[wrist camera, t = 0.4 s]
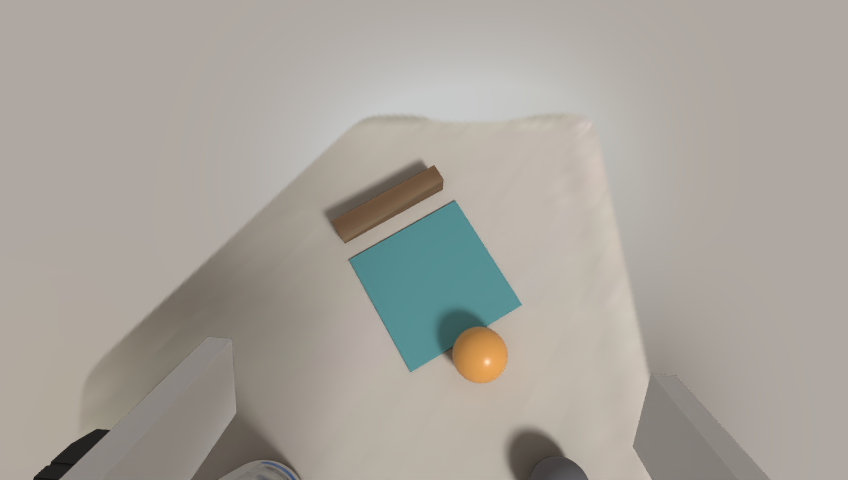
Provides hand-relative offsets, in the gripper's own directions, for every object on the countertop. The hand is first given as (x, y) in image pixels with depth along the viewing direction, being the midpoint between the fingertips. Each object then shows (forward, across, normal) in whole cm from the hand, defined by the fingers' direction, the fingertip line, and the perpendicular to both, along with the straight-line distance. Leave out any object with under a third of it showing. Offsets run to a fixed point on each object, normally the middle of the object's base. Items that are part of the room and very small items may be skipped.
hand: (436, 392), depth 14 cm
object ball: (+27, -5, +14) cm, 31 cm away
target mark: (+33, 0, +10) cm, 34 cm away
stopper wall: (+37, +6, +3) cm, 38 cm away
